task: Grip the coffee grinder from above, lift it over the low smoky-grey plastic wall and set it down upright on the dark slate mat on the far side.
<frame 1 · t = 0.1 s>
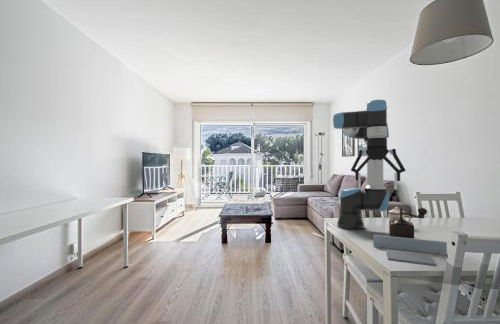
hand: (377, 188, 110), 28 cm above the table, tool pointing down, fingers open, 13 cm apart
teacup with lid: (399, 227, 159), on the table
slate mat: (409, 257, 108), on the table
low wall: (408, 249, 118), on the table
coffee grinder: (407, 243, 127), on the table
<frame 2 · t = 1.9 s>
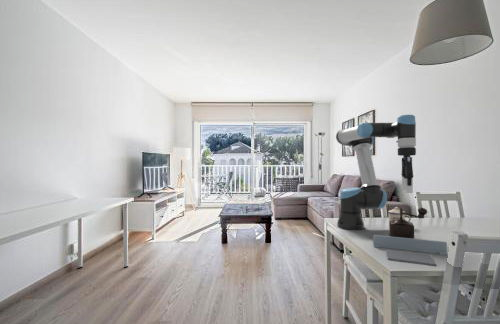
hand: (407, 191, 127), 25 cm above the table, tool pointing down, fingers open, 13 cm apart
nothing on the table moved.
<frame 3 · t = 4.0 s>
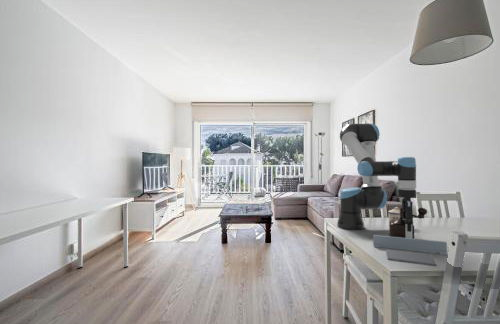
hand: (407, 235, 127), 4 cm above the table, tool pointing down, fingers closed on coffee grinder, 10 cm apart
coffee grinder: (407, 243, 127), on the table, touching gripper
everything else where it was.
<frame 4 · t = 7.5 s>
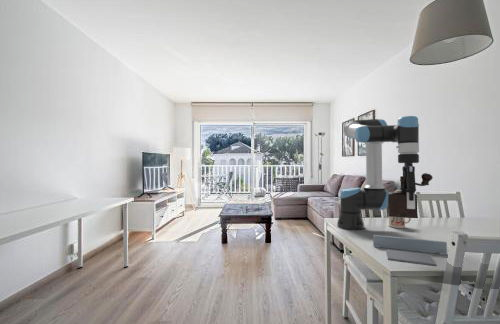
hand: (408, 206, 110), 20 cm above the table, tool pointing down, fingers closed on coffee grinder, 10 cm apart
coffee grinder: (409, 216, 110), point 16 cm above the table, touching gripper
everything else where it was.
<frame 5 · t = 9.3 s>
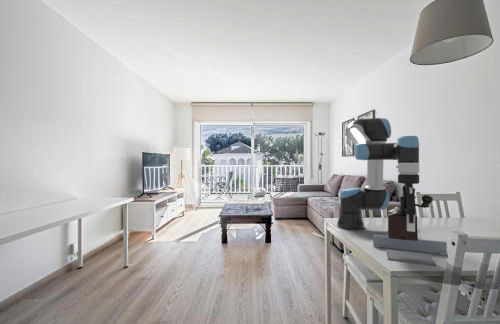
hand: (408, 228, 108), 12 cm above the table, tool pointing down, fingers closed on coffee grinder, 10 cm apart
coffee grinder: (409, 238, 108), point 8 cm above the table, touching gripper
everything else where it was.
when the fingers open (6 cm above the table, at t = 11.0 s): coffee grinder drops 1 cm, resting on slate mat.
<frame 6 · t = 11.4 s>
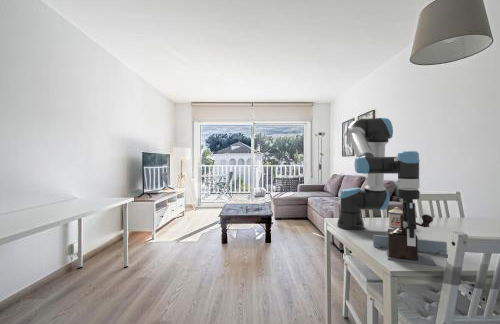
hand: (408, 241, 108), 7 cm above the table, tool pointing down, fingers open, 13 cm apart
coffee grinder: (409, 256, 108), resting on slate mat
everything else where it was.
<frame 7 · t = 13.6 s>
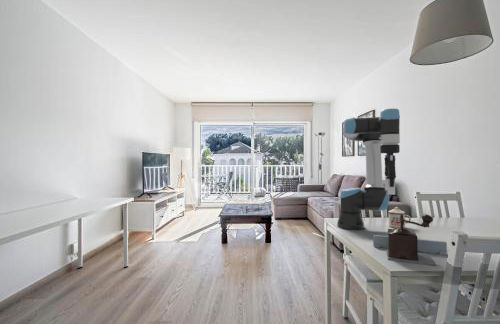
hand: (389, 192, 117), 26 cm above the table, tool pointing down, fingers open, 13 cm apart
nothing on the table moved.
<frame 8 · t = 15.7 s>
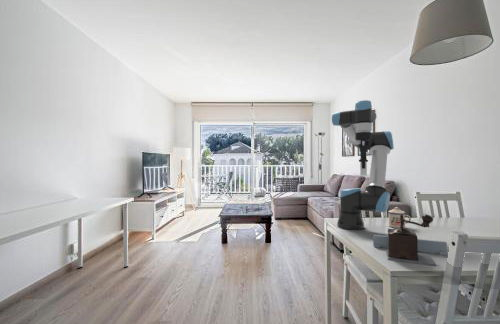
hand: (363, 175, 131), 33 cm above the table, tool pointing down, fingers open, 13 cm apart
nothing on the table moved.
at the end: coffee grinder inside the target area (0.1 cm from its centre), resting on slate mat; coffee grinder tilted 0°; the gripper is holding nothing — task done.
